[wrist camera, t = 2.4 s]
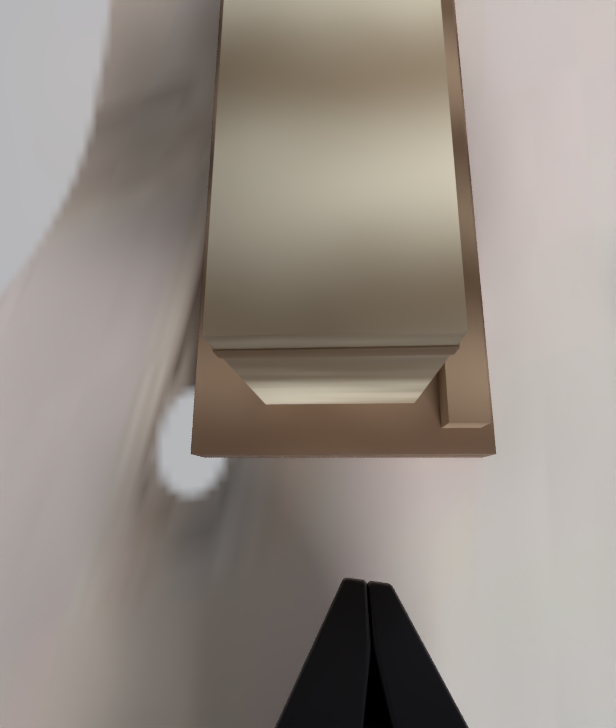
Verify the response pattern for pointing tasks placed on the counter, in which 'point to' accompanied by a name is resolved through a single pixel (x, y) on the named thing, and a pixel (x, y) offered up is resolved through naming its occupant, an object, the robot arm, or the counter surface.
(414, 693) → the robot arm
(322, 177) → the tea box
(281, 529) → the counter surface
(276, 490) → the counter surface
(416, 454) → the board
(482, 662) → the counter surface
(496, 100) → the counter surface
